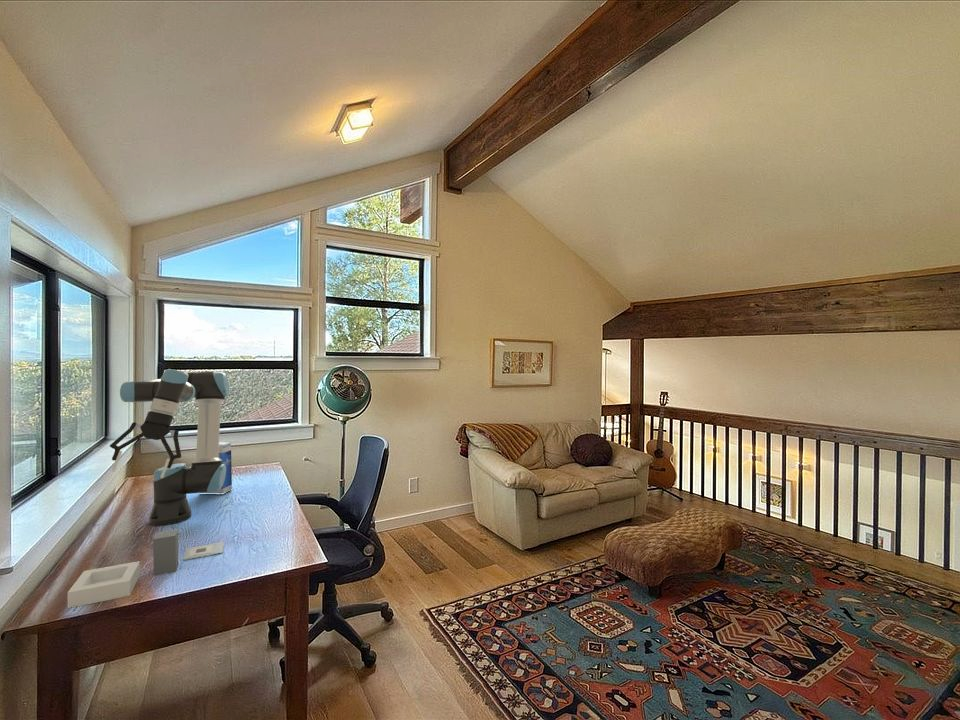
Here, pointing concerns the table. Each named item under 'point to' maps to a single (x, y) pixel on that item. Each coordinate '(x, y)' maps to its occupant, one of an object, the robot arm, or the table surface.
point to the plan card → (203, 550)
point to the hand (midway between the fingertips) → (137, 474)
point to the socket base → (104, 584)
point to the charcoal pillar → (165, 552)
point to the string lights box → (226, 459)
